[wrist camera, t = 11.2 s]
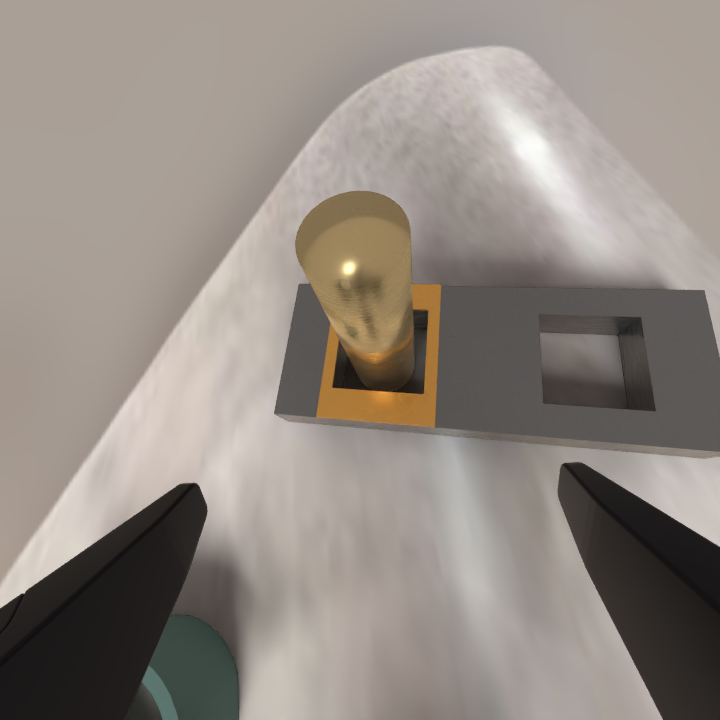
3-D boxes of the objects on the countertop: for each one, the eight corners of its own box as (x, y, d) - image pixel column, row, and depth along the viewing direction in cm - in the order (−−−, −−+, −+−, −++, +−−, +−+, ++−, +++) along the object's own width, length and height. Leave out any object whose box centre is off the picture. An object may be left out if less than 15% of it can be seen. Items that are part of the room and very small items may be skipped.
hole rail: (675, 311, 23) (706, 288, 20) (703, 458, 20) (745, 453, 17) (309, 301, 27) (297, 282, 25) (287, 421, 24) (272, 413, 22)
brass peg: (388, 404, 23) (355, 309, 11) (343, 367, 25) (272, 247, 13) (427, 359, 24) (435, 224, 12) (382, 325, 25) (348, 174, 13)
